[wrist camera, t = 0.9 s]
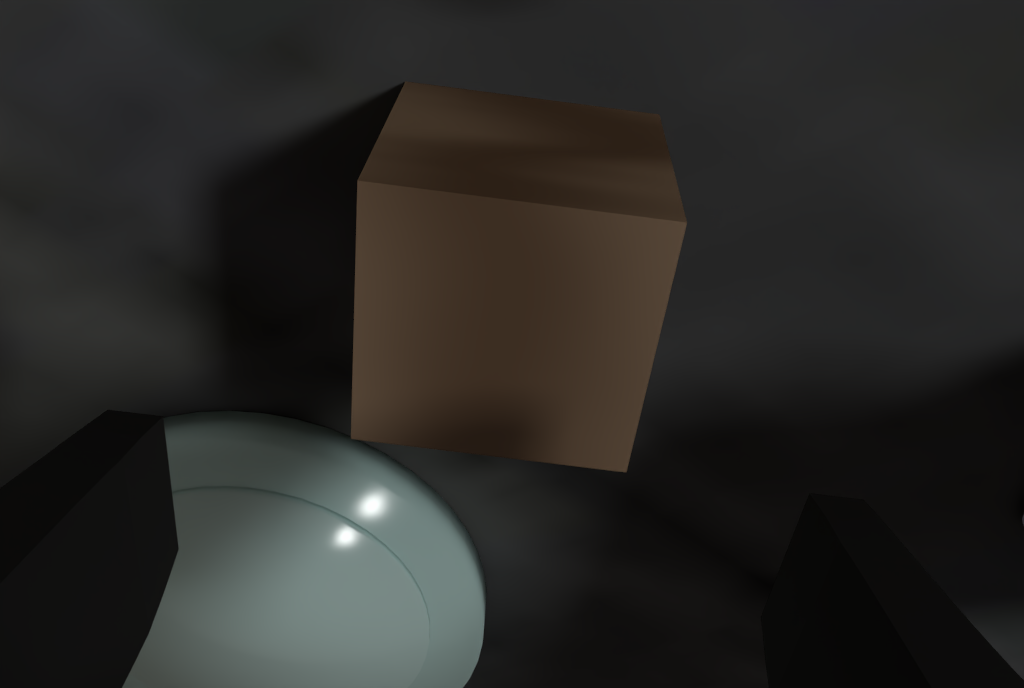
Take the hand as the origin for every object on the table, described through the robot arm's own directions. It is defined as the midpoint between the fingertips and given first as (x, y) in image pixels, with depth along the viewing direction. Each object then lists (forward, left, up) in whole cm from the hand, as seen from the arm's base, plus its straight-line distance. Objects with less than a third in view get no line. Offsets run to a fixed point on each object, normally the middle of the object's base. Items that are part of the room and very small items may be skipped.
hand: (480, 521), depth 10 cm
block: (0, 0, -8) cm, 8 cm away
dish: (+5, +11, -8) cm, 15 cm away
